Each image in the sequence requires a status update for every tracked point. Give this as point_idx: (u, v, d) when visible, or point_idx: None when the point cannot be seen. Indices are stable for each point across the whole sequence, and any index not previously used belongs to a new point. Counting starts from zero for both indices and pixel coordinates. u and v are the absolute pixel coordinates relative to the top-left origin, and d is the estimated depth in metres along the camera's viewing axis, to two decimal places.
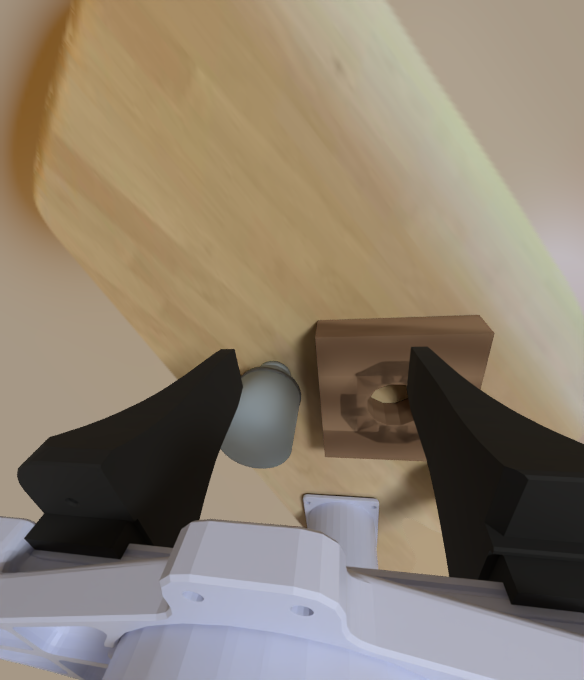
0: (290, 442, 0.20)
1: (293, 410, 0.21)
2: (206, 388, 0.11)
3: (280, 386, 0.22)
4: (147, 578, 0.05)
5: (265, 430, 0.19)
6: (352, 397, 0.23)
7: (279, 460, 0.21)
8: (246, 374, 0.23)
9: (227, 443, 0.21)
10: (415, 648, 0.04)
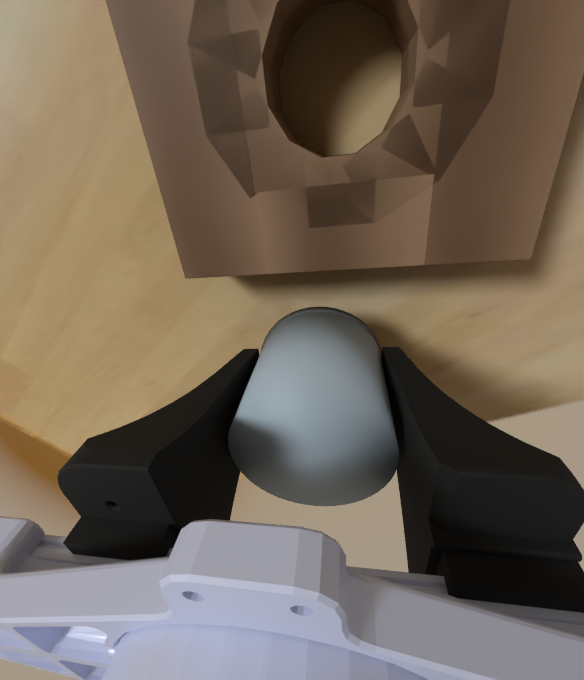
0: (297, 390, 0.08)
1: (288, 347, 0.10)
2: (234, 388, 0.10)
3: (261, 353, 0.12)
4: (147, 578, 0.05)
5: (264, 429, 0.09)
6: (317, 197, 0.10)
7: (365, 419, 0.08)
8: None
9: (318, 493, 0.10)
10: (415, 648, 0.04)
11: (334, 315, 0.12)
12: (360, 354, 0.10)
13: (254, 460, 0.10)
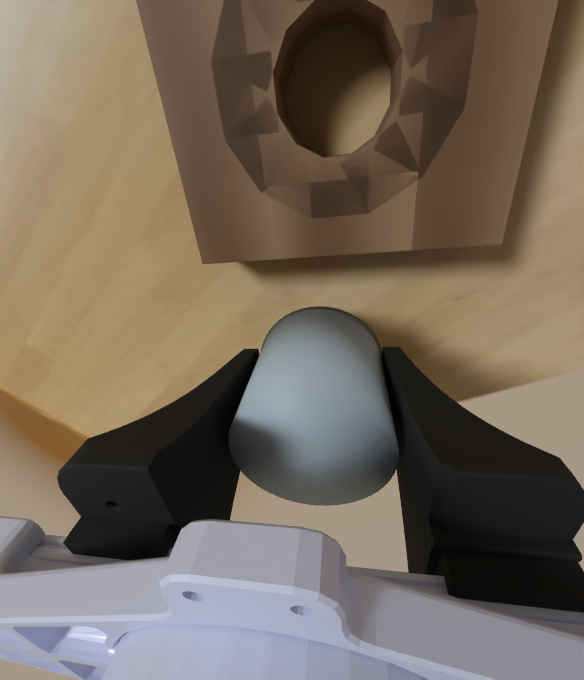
0: (297, 389, 0.08)
1: (288, 346, 0.10)
2: (234, 388, 0.10)
3: (261, 353, 0.12)
4: (147, 578, 0.05)
5: (265, 429, 0.09)
6: (319, 191, 0.12)
7: (365, 419, 0.08)
8: None
9: (318, 492, 0.10)
10: (415, 648, 0.04)
11: (334, 315, 0.12)
12: (360, 354, 0.10)
13: (254, 460, 0.10)
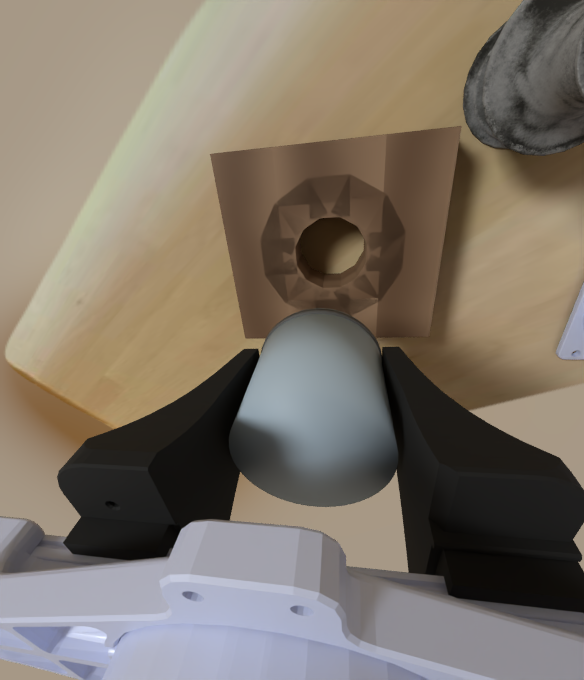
0: (298, 393, 0.08)
1: (288, 349, 0.10)
2: (234, 388, 0.10)
3: (261, 355, 0.12)
4: (147, 578, 0.05)
5: (265, 431, 0.09)
6: (320, 304, 0.19)
7: (365, 422, 0.08)
8: None
9: (317, 494, 0.10)
10: (415, 648, 0.04)
11: (334, 317, 0.12)
12: (360, 356, 0.10)
13: (254, 461, 0.10)
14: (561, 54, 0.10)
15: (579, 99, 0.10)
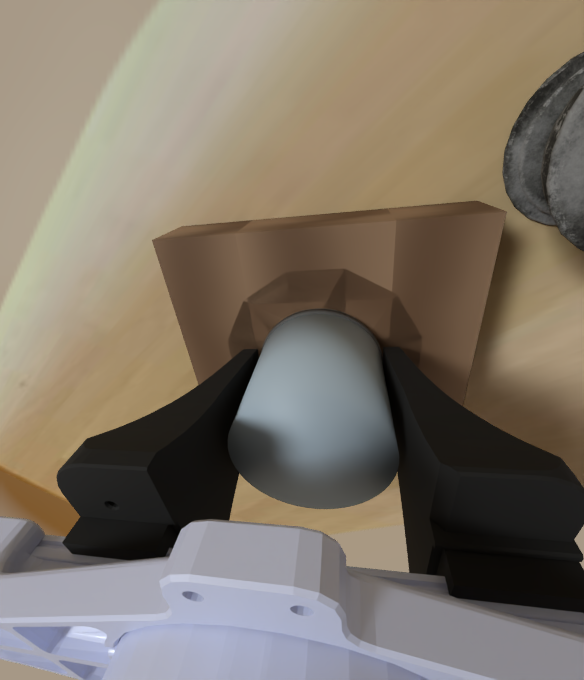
0: (297, 393, 0.08)
1: (288, 349, 0.10)
2: (234, 388, 0.11)
3: (260, 355, 0.12)
4: (147, 578, 0.05)
5: (264, 432, 0.09)
6: None
7: (366, 423, 0.08)
8: None
9: (317, 496, 0.10)
10: (415, 648, 0.04)
11: (334, 317, 0.12)
12: (360, 357, 0.10)
13: (254, 463, 0.10)
14: None
15: None
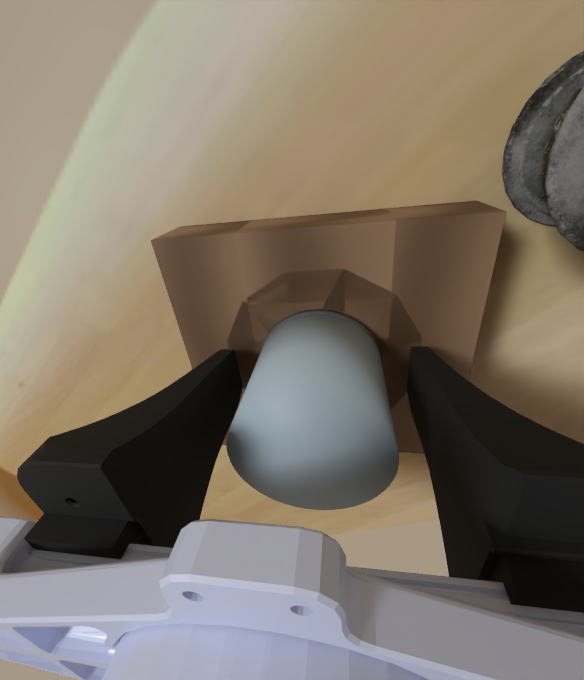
0: (297, 394, 0.08)
1: (287, 349, 0.10)
2: (206, 388, 0.11)
3: (260, 355, 0.12)
4: (147, 578, 0.05)
5: (263, 433, 0.09)
6: None
7: (365, 423, 0.08)
8: None
9: (317, 496, 0.10)
10: (415, 648, 0.04)
11: (334, 317, 0.11)
12: (360, 357, 0.10)
13: (253, 464, 0.10)
14: None
15: None
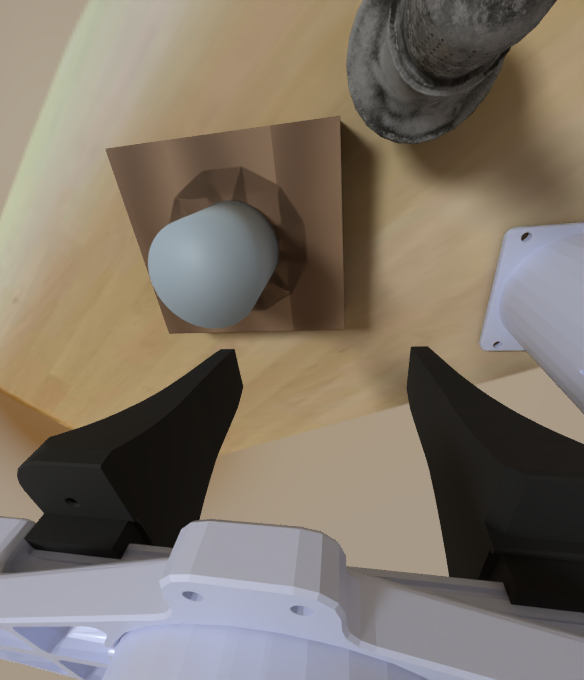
0: (185, 219, 0.12)
1: (194, 213, 0.14)
2: (206, 388, 0.11)
3: None
4: (147, 578, 0.05)
5: (170, 257, 0.13)
6: None
7: (230, 240, 0.13)
8: None
9: (214, 315, 0.15)
10: (415, 648, 0.04)
11: (236, 203, 0.16)
12: (243, 218, 0.14)
13: (168, 287, 0.14)
14: None
15: None
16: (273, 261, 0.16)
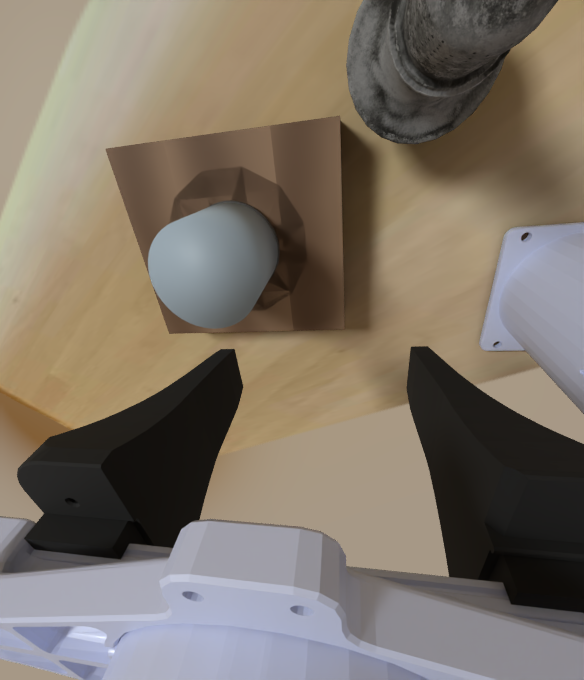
0: (185, 219, 0.12)
1: (194, 213, 0.14)
2: (206, 388, 0.11)
3: None
4: (147, 578, 0.05)
5: (170, 257, 0.13)
6: None
7: (230, 240, 0.13)
8: None
9: (214, 315, 0.15)
10: (415, 648, 0.04)
11: (236, 203, 0.16)
12: (243, 218, 0.14)
13: (168, 287, 0.14)
14: None
15: None
16: (273, 261, 0.16)
